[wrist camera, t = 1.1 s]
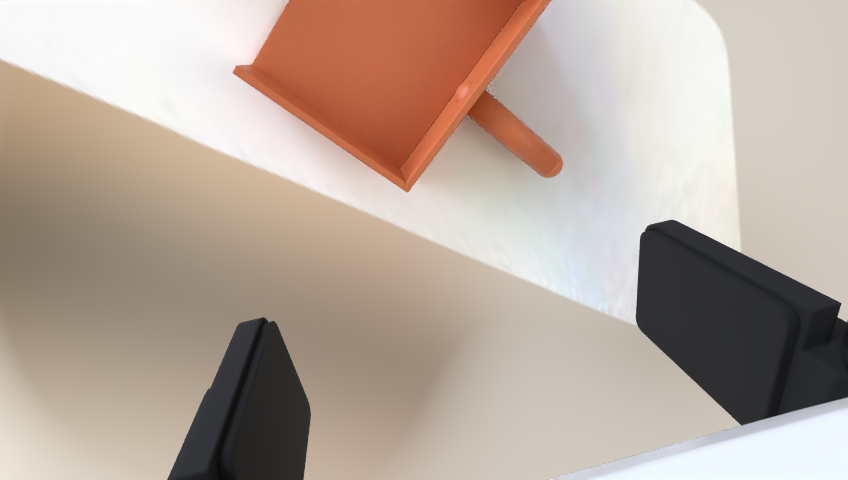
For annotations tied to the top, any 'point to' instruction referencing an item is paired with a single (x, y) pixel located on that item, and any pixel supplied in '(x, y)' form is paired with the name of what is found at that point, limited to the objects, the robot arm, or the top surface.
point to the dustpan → (398, 76)
